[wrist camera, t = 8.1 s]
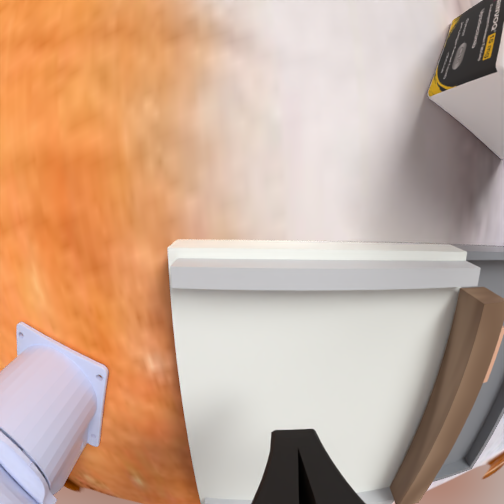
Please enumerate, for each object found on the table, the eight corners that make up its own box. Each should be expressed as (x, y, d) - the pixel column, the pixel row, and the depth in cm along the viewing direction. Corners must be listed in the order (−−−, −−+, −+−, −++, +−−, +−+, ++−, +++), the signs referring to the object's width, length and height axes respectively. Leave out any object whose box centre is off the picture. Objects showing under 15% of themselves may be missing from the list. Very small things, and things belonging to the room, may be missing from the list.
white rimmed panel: (203, 488, 22) (199, 518, 19) (177, 239, 17) (158, 255, 14) (380, 480, 22) (389, 507, 19) (449, 244, 17) (482, 258, 14)
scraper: (389, 486, 19) (397, 508, 17) (459, 287, 15) (484, 304, 13) (410, 482, 19) (418, 502, 17) (484, 286, 15) (508, 301, 13)
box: (380, 480, 22) (385, 493, 20) (449, 244, 17) (465, 251, 15) (464, 457, 22) (471, 468, 20) (540, 247, 17) (555, 253, 15)
